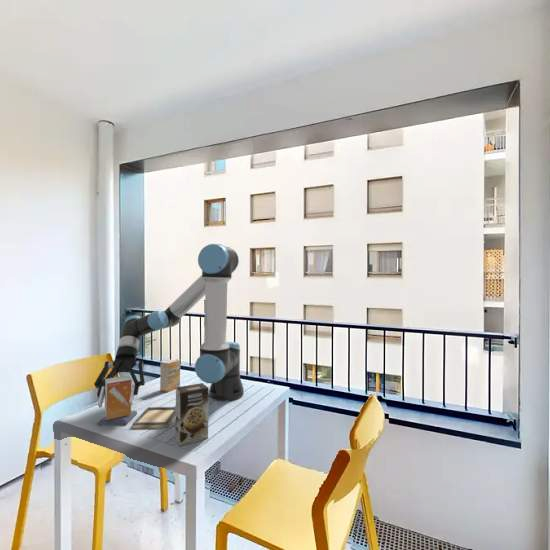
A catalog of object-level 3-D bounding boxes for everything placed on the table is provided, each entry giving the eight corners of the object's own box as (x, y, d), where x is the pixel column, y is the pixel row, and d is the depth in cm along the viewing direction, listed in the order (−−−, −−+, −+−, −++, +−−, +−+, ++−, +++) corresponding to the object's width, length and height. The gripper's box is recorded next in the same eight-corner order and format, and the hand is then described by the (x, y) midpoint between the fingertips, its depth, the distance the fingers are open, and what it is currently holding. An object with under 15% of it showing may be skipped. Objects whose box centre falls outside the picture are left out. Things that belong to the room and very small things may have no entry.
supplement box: (167, 392, 142) (167, 363, 142) (159, 390, 144) (159, 362, 144) (180, 387, 149) (180, 359, 149) (172, 385, 151) (173, 358, 151)
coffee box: (180, 446, 96) (180, 392, 96) (174, 437, 101) (175, 386, 101) (209, 438, 100) (209, 387, 101) (202, 430, 106) (202, 382, 106)
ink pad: (137, 414, 119) (137, 410, 119) (126, 424, 110) (126, 420, 110) (110, 414, 119) (110, 410, 119) (97, 425, 110) (97, 420, 110)
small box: (106, 420, 110) (106, 383, 110) (104, 414, 115) (104, 378, 115) (131, 415, 114) (131, 379, 114) (128, 409, 119) (128, 374, 119)
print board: (178, 410, 122) (179, 406, 122) (167, 427, 108) (167, 423, 108) (147, 411, 121) (147, 406, 121) (131, 428, 107) (131, 423, 107)
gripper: (157, 353, 132) (150, 406, 116) (99, 356, 127) (83, 411, 112) (155, 343, 127) (147, 397, 111) (95, 345, 122) (77, 402, 107)
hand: (115, 404), depth 111 cm, fingers closed on small box, 10 cm apart
